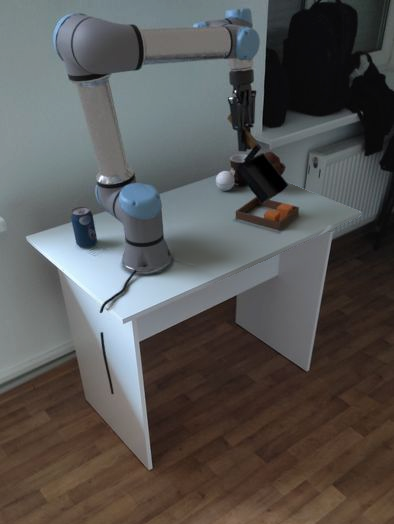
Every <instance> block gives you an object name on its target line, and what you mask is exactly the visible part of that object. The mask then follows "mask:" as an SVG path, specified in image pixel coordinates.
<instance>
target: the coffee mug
mask: <svg viewBox="0 0 394 524" xmlns="http://www.w3.org/2000/svg"><path fill="white" fill-rule="evenodd" d="M247 155H248V154H243V153H242V154H241V153H240V154H239V153H238V154H233V155H232V156H230V157H229V160H230V171H231V172H230V173H232V174H233V176H234V180H235V182H234V185H233V187H238V188H243V187H248V185H247V184H246V183H245V182H244V180H243V179H242V178H241V177H240V175H239V174H238V173H237V172H236V169H237V168H238V167H239V166H240V164H241V163H243V162H245V161H244V159H245V158H246V157H247Z"/></svg>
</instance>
